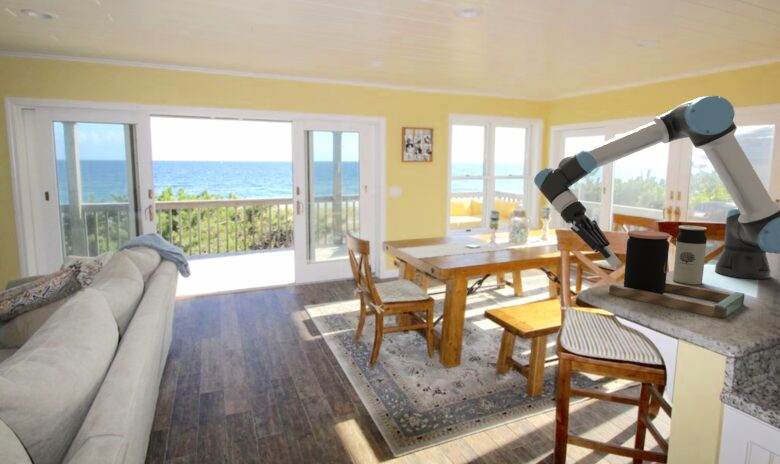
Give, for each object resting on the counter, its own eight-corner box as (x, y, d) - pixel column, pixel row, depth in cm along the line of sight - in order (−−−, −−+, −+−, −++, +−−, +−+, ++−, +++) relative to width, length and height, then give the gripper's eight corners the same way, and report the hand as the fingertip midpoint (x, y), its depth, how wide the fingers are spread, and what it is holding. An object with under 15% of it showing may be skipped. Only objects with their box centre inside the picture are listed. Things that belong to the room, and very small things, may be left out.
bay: (609, 294, 132) (609, 284, 132) (634, 283, 144) (635, 274, 143) (723, 318, 111) (724, 306, 110) (743, 304, 122) (744, 293, 122)
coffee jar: (670, 299, 127) (676, 236, 124) (629, 297, 129) (634, 235, 127) (656, 289, 137) (661, 231, 135) (618, 287, 140) (623, 230, 137)
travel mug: (680, 277, 151) (685, 224, 149) (706, 283, 145) (712, 227, 142) (667, 280, 147) (672, 226, 145) (694, 286, 141) (700, 229, 138)
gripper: (571, 213, 155) (617, 269, 145) (550, 216, 147) (597, 275, 136) (587, 199, 150) (636, 255, 140) (567, 201, 142) (617, 261, 132)
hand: (617, 265), depth 138 cm, fingers closed
